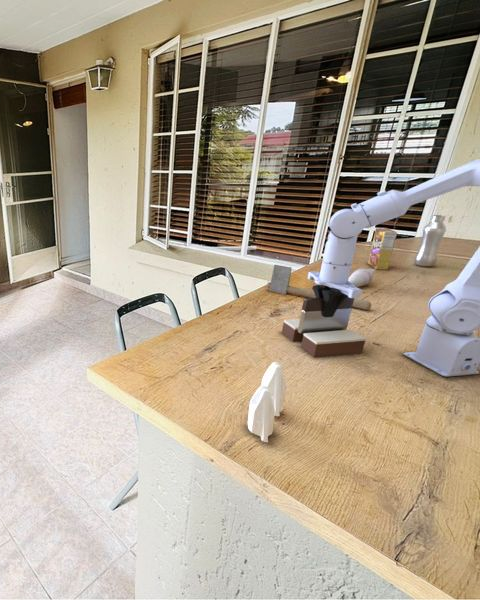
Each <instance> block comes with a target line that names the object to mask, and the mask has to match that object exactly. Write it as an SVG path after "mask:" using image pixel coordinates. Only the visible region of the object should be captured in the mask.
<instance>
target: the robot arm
mask: <svg viewBox="0 0 480 600" xmlns="http://www.w3.org/2000/svg"><path fill="white" fill-rule="evenodd" d="M464 187H480V158H477V159H474V160H472V161H470V162H467V163H464V164H462V165H460V166H458V167H456V168H453V169H451V170H450V171H446V172H445V173H443V174H441V175H438V176H436V177H434V178H431V179H429V180H427V181H425V182H422V183H420V184H418V185H416V186H413V187H411V188H409V189H407V190H404V191H400V190H397V189H391V190H388V191H386V190H385V189H384V190H381V191H378V192H377V193H376V196H373V197H372V198H370V199H369V198H368V199H367V200H365V201H362V202H360V203H358V204H357V202H355V203H352V204H350V207H351V208H343V209H340V210H337V211H336V212H335V213H334V214H333V215H332V216H331V217H330V219H329V220H328V226H329V229H330V231H329V233H328V235H327V240H326V242H325V247H324V252H323V257H322V262H321V266H320V272H319V271H317V270H314V271H308V274H307V280H309V281H314V282H313V283H314V284H315V285H312V288H311V290H313V291H314V293H315V296H316V298H323V297H324V308H323V316H324V317H333V315H334V314H335V312H336V310H337V309H338V307H339V306H340V304H341V303H342V302H343V301H344V300H345V299H346V298H347V297H349V298H355V299H360V297H361V294H362V289H361V288H360V287H356V286H354V285H353V284H352V283H350V282H349V281H348V279H349V277H350V276H351V270H352V267H353V262H354V257H355V253H356V250H357V245H358V244H357V240H358V236H359V235H360V234H361V233H362V231H363V230H364V229H370V228H373V227H376V226H377V225H380V224H383V223H386V222H389V221H391V220H394V219H396V218H399V217H402V216H404V215H405V214H406V213H407V211H408V210H409V209H410V207H412V206H413V205H416V204H419V203H422V202H425V201H427V200H430V199H433V198H436V197H440V196H441V195H444V194H448V193H450V192H453V191H455V190H458V189H462V188H464ZM427 307H428V311H429V312H430V313H431V314H430V316H429V317H428V318H427V319H426V320H425V324H424V326H423V329H422V333H421V335H420V338H419V341H418V344H417V348H416V350H415V351H409V352H408V351H407V352H404V353H403V356H405V357H407V358H409V359H410V360H413V361H415V362H416V363H418V364H420V365H421V366H424V367H426V368H427V369H429V370H430V371H432V372H435V373H436V374H438V375H440V376H441V377H446V378H447V377H457V376H469V375H470V376H471V375H479V374H480V371H479V366H480V338H479V337H478V336H477V335H476V334H475V333H474V332H475V331H476V330H478V329H479V328H480V246H478V248H477V249H476V250H475V253H473V255H472V257H471V258H470V259H469V261H468V262H467V263H466V265H465V267H463V269H462V271H461V272H460V273H459V275H458V276H457V278H456V279H455V280H453V281H451V282H449V283H447V284H446V285H445V287H444V288H443V289H442V290H441V291H440V292H437V294H435V295H432V297H431V298H430V299H429V300H428V304H427Z"/></svg>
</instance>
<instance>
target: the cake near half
mask: <svg viewBox="0 0 480 600" xmlns="http://www.w3.org/2000/svg"><path fill="white" fill-rule="evenodd" d="M303 335H304V336H303V340H302V341H301V346H300V348H301V349H302V350H304V351H305V352H306V353H308V354H309V355H311V356H312V357H313V358H319V357H320V358H321V357H331V356H342V355H353V354H354V355H355V354H356V355H357V354H363V351H364V347H365V344H366V340H367V338H366V337H364V336H363V335H361V334H360V333H357V332H356V331H354V330H352V329H347V330H339V331H326V332H314V333H304V334H303Z"/></svg>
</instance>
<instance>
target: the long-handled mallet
mask: <svg viewBox="0 0 480 600" xmlns="http://www.w3.org/2000/svg"><path fill="white" fill-rule="evenodd" d="M291 274H292V266H287V265H286V266H285V265H279V264H273V270H272V275H271V280H270V281H269V282H267V283H266V288H268V292H272V293H276V294H281V295H287V294H288V293H290V294H294V295H299V296H302V297H307V298H316V296H315V293H314V291H313V289H307V288H302V287H297V286H291V285H290V281H291ZM352 308H356V309H360V310H365V311H369V310H371V309H372V303H371V301H369V300H365V299H360V298H354V302H353V306H352Z"/></svg>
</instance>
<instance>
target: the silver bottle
mask: <svg viewBox="0 0 480 600" xmlns="http://www.w3.org/2000/svg"><path fill="white" fill-rule="evenodd" d="M445 220H446V215H441V214H433V215H432V216H431V219H430V222H428V223H427V224H426V225H425V226H424V227H423V230H422V238H421V242H420V246H419V249H418V251H417V253H416V255H415V257H414V260H413V261H414V264H415V265H417V266H421V267H433V266H434V265H435V264H436V263H437V260H438V253H439V248H440V245H441V242H442V239H443V237H444V236H445V233H446V232H447V226H446V225H445V223H444V222H445Z"/></svg>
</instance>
